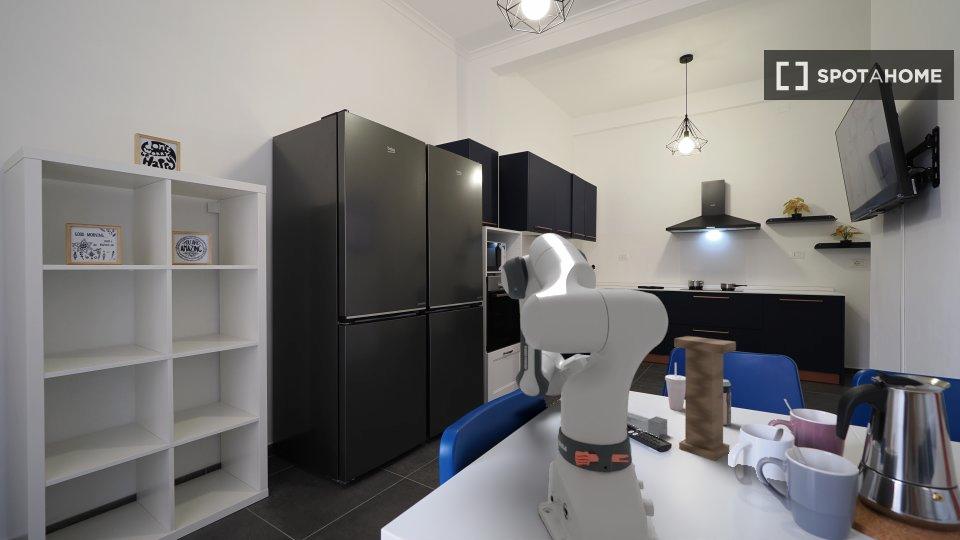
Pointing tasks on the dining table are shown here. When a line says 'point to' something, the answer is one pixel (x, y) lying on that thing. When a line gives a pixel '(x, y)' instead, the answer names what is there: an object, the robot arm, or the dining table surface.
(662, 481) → the dining table surface
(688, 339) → the walnut stand
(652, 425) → the grey long block
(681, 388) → the smoothie
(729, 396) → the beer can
